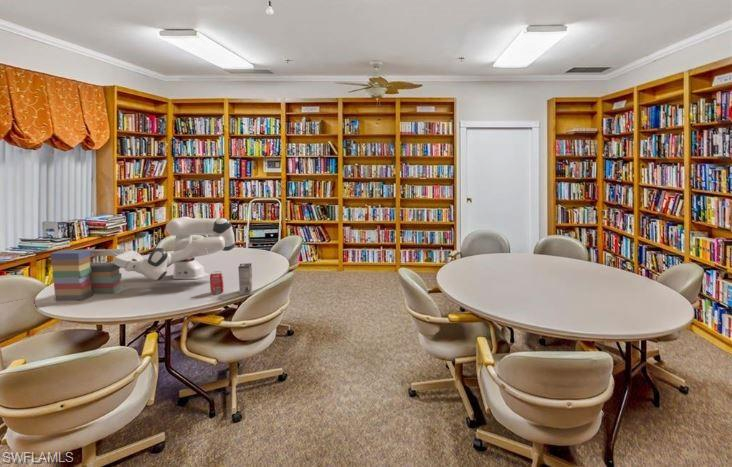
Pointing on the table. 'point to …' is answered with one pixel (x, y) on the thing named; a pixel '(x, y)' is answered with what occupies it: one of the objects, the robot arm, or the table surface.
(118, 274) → the short book stack
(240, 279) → the coffee box
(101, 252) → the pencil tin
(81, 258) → the tall book stack
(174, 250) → the robot arm
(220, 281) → the soda can
